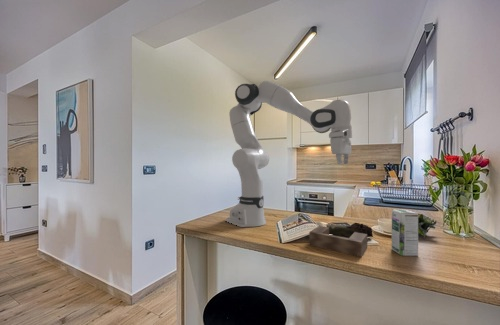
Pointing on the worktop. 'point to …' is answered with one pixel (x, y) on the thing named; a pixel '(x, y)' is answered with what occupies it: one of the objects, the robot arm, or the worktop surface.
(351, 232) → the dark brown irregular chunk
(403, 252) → the syrup box
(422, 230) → the green leafy plant
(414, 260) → the worktop surface
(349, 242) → the socket block
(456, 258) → the worktop surface
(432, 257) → the worktop surface
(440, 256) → the worktop surface
